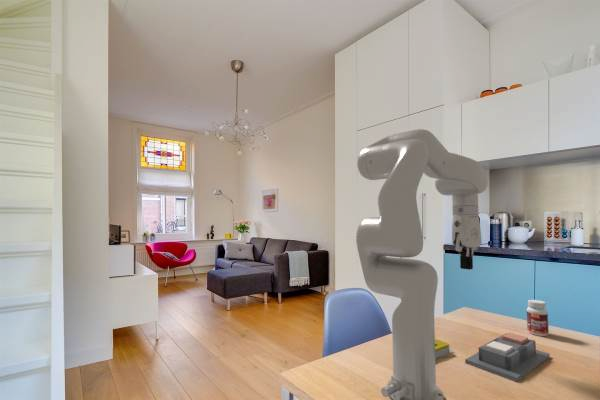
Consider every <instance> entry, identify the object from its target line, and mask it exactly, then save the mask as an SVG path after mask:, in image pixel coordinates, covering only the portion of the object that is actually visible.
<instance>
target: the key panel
mask: <svg viewBox="0 0 600 400" xmlns="http://www.w3.org/2000/svg"><path fill="white" fill-rule="evenodd" d="M506 334H508V332H505V333H504V334H502V335H500V336H499V337H496V338H495V339H492V340H490V341H488V342H487V343H484V344H483V345H481V346H480V347H478V352H476V353H475V354H472V355H471V356H469V357H467V358H465V359H464V362H465V364H466V365H467V364H468V365H470V366H473V367H476V368H478V369H481V370H483V371H487V372H490V373H492V374H495V375H497V376H500V377H502V378H506V379H508V380H511V381H512V382H513V381H514V382H517V383H518V382H519V381H521V380H523V378H524V377H526V376H527V375H528V374H530V373H531V372H532V371H534V370H535V369H536V368H537V367H538V366H540V365H541V364H542V363H543V362H545V361H546V360H548V359H550V353H549V352H546V351H543V350H539V349H536V340H534V339H530V338H528V342H527V343H525V344H524V345H520V344H516V343H513V342H509V341H506V340H503V336H504V335H506ZM493 341H495V342H499V343H502V344H506V345H509V346H512V347H513V351H512V352H511V353H509V354H508V355H505V354H502V353H498V352H495V351H492V350H489V349H486V345H487V344H489V343H491V342H493Z"/></svg>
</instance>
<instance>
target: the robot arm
mask: <svg viewBox="0 0 600 400" xmlns="http://www.w3.org/2000/svg"><path fill="white" fill-rule="evenodd" d="M356 166H357V169H358V172H359V174H360V176H361V177H363V178H364V179H367V180H369V181H377V180H378V181H379V180H385V179H386V180H385V181H384V183H383V185H382V186H381V188H380V190H379V193H378V198H377V204H378V205H377V206H378V212H379V216H373V217H368V218H365V219H363V220H362V221H361V222H360V223H359V225H358V227H357V230H356V237H355V238H356V239H355V241H356V248H357V252H358V256H359V257H358V258H359V262H360V264H361V265H360V266H361V269H362V270H361V271H362V273H363V278H364V282H365V284H366V286H367V288H368V289H369V291H371V292H373V293H375V294H378V295H385V296H390V297H395V298H398V299H400V303H399V304H398V305H397V307H396V308H395V310H394V311H393V312H392V316H391V331H392V332H391V333H392V334H391V335H392V337H391V338H392V339H391V340H392V375H391V377H390V380H388V382H387V384H386V386H383V387H381V389H380V390H381V391H380V393H381V396H383V397H384V398H388V397H389V398H390V399H392V400H445V399H444V392H443V391H442V389H441V388H440V387H439V386H437V378H436V377H437V375H436V374H437V372H436V368H437V367H436V359H435V339H436V335H435V334H436V332H435V305H436V295H437V290H438V284H439V282H438V281H439V279H438V278H439V277H438V273H437V271H436V269H435V267H434V266H433V265H431V264H430V263H428V262H427V261H424V260H419V259H414V258H415V257H417V256H419V255H420V254H421V252H422V251H423V248H424V237H423V231H422V225H421V224H422V223H421V220H420V219H421V218H420V213H419V208H418V203H417V202H418V201H417V192H418V188H419V186H420V182H421V179H422V177H423V175H425V176H427V177H428V178H432V179H435V183H434V184H435V188H436V190H437V192H438V193H439V194H441V195H443V196H452V197H451V198H452V199H451V200H452V224H451V226H452V227H451V241H452V242H451V243H452V245H453V247H455V251H456V252H458V255H459V263H460V264H459V265H460V266H459V267H460V269H463V270H473V269H474V265H473V264H474V262H473V261H474V260H473V258H474V251H477V248H479V247H481V246H482V243H483V242H482V231H481V223H480V217H479V215H480V214H479V194H482V193H483V192H485V191H486V190H487V188H488V185H489V181H488V180H489V179H488V176H487V173H486V172H485V170H484V168H483V166H481V164H480V163H479V162H478V161H477V160H475V159H473V158H470V157H467V156H464V155H460V154H457V153H453V152H451V151H450V152H449V151H448V149H447V148H446V147H445V146H444V145H443V144H442V142H441V141H440V140H439V139H438V138H437V137H436V136H435V135H434V133H432V132H431V131H429V130H428V129H421V128H419V129H418V128H417V129H413V130H408V131H407V130H406V131H403V132H398V133H394V134H391V135H388V136H385V137H384V138H381V139H379V140H377V141H375V142H374V143H371V144H369V145H368V146H366V147H364V148H363V149H362V150H361V151H360V153H359V155H358V157H357V163H356ZM412 258H413V259H412Z"/></svg>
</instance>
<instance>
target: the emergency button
mask: <svg viewBox="0 0 600 400" xmlns="http://www.w3.org/2000/svg"><path fill="white" fill-rule="evenodd" d="M453 353H454V350H453V349H451V348H450V344H449V343H447V342H445V341H442V340H440V339H437V338H435V360H437V359H440V358H442V357H445V356H448V355H450V354H453Z"/></svg>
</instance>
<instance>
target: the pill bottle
mask: <svg viewBox="0 0 600 400" xmlns="http://www.w3.org/2000/svg"><path fill="white" fill-rule="evenodd" d="M527 306H528V307H527V308H526V328H527V333H529V334H531V335H534V336H539V337H547V336H549V335H550V333H549V312H548V310H547V309H546V308H547V304H546V302H545V301H544V300H540V299H528V300H527Z"/></svg>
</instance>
